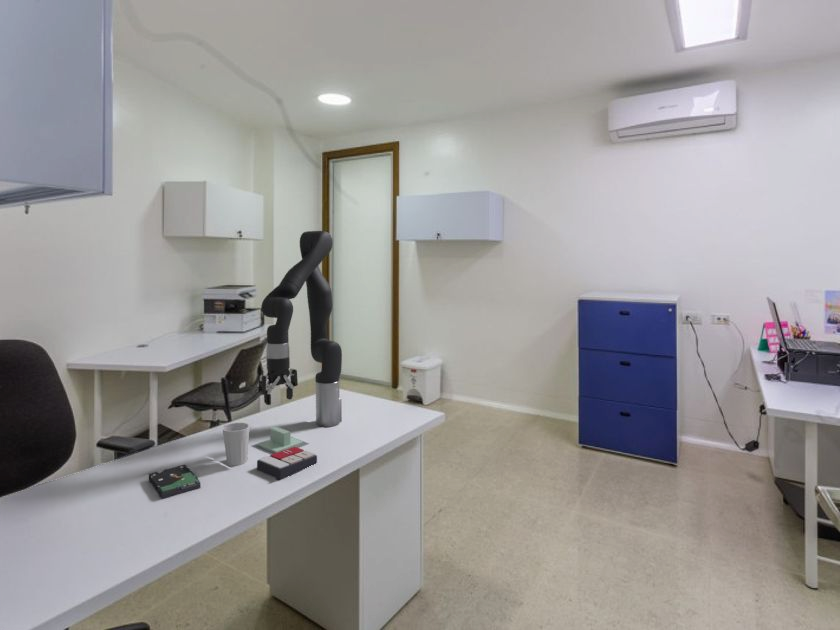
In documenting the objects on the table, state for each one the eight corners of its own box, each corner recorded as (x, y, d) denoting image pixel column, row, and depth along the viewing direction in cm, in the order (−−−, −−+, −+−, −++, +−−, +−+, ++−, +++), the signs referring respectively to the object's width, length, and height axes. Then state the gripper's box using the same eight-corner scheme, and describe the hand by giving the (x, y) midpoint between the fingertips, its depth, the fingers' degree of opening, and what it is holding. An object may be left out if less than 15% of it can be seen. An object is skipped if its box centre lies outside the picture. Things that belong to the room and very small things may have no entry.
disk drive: (148, 482, 142) (162, 501, 131) (147, 473, 142) (161, 491, 131) (185, 472, 149) (201, 489, 138) (184, 463, 149) (201, 479, 138)
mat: (284, 435, 178) (284, 434, 178) (309, 445, 169) (309, 443, 169) (251, 447, 167) (251, 445, 167) (275, 457, 159) (275, 456, 159)
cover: (284, 436, 176) (283, 422, 175) (303, 443, 169) (302, 429, 169) (257, 445, 167) (256, 430, 167) (276, 453, 161) (276, 438, 160)
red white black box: (317, 453, 155) (279, 467, 142) (317, 466, 155) (279, 481, 143) (294, 445, 161) (256, 458, 149) (294, 457, 161) (256, 471, 149)
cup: (218, 465, 153) (216, 428, 151) (238, 456, 160) (237, 421, 158) (236, 470, 149) (234, 433, 148) (256, 460, 156) (254, 425, 155)
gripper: (288, 351, 172) (289, 395, 174) (253, 357, 161) (254, 404, 163) (301, 354, 168) (302, 399, 170) (266, 360, 157) (267, 408, 158)
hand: (278, 401), depth 166 cm, fingers open, 8 cm apart
